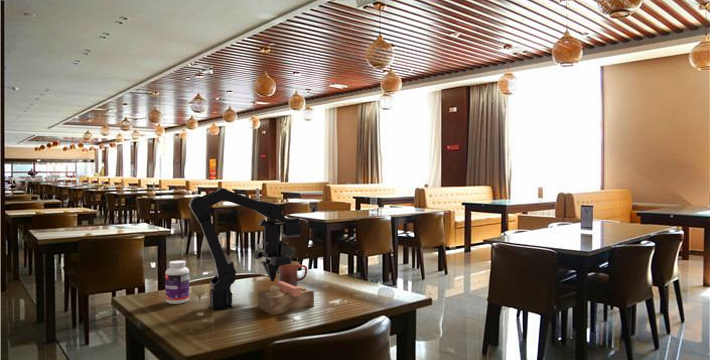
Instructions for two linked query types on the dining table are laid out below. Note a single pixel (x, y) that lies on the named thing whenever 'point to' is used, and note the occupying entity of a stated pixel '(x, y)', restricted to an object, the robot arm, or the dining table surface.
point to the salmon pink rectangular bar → (289, 288)
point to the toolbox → (285, 302)
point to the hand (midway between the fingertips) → (272, 281)
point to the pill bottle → (177, 282)
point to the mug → (291, 273)
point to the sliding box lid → (277, 292)
